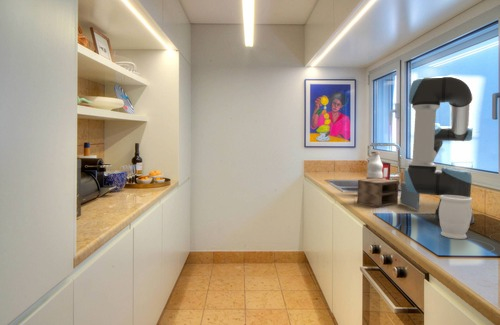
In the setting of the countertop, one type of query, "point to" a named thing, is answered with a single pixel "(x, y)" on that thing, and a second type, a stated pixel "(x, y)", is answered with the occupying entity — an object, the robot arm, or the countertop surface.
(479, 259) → the countertop surface
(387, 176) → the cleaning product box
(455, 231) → the jar
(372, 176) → the white ceramic bottle shape
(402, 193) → the door
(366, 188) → the cabinet
